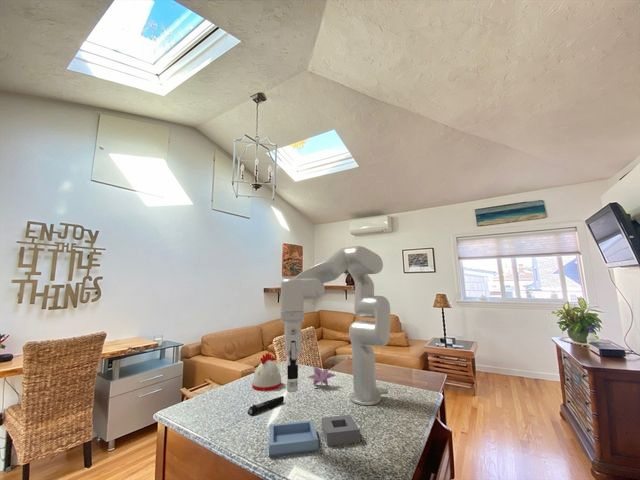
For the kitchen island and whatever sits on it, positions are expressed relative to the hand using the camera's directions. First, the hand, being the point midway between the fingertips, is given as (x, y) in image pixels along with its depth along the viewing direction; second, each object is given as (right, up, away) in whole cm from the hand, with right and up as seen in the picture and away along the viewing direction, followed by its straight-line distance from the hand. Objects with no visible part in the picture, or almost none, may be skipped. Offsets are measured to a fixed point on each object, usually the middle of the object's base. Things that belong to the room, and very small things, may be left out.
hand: (292, 376), depth 86 cm
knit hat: (-17, -28, +46) cm, 56 cm away
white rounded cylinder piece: (0, -4, -1) cm, 4 cm away
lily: (+10, -27, +42) cm, 51 cm away
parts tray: (0, -19, -3) cm, 19 cm away
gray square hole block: (+15, -19, 0) cm, 24 cm away
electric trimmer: (-12, -24, +21) cm, 34 cm away
